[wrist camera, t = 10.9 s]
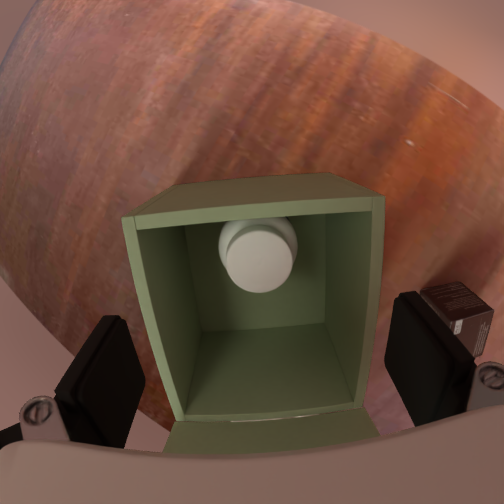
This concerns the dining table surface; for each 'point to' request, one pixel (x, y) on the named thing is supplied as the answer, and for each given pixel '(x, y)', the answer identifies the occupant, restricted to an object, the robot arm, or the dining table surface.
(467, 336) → the box
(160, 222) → the chest
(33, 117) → the dining table surface
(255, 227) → the pill bottle
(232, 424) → the lid
